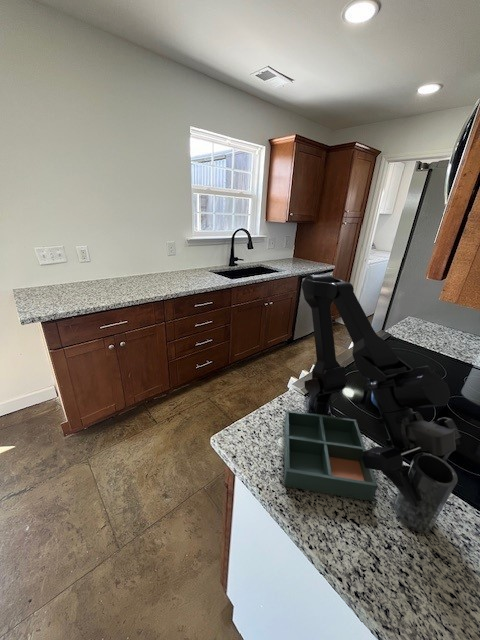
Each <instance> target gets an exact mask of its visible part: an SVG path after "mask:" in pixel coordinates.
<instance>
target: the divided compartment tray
mask: <svg viewBox="0 0 480 640" xmlns="http://www.w3.org/2000/svg"><path fill="white" fill-rule="evenodd" d="M283 433H284V445H283V446H284V448H283V450H284V451H283V458H284V459H283V486H284V487H287V488H294V489H299V490H304V491H305V490H306V491H310V492H311V491H312V492H317V493H323V494H327V495H334V496H340V497H345V498H350V499H357V500H361V501H363V500H364V501H368V502H373V500H374V497H375V495H376V492H377V489H378V483H377V480H376V476H375V473H374V469H369V468H365V466H364V463H363V460H362V454H363V451H366V450H367V449H366V445H365V443H364V440H363V436H362V434H361V431H360V428H359V424H358V421H357V419H353V418H347V417H340V416H332V415H331V416H326V415H318V414H311V413H308V412H302V411H296V410H289V409H288V410H287V409H286V410H285V417H284V432H283Z"/></svg>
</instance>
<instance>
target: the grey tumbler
mask: <svg viewBox="0 0 480 640" xmlns="http://www.w3.org/2000/svg"><path fill="white" fill-rule="evenodd" d="M409 466H410V470H409V473H408V477H409V479H410V482H411V485H412V488H413V491H414V493H415V496H416V500H417V504H418V507H413V506H411V504H410V503H409V502H408V501H407V500H406V498H405V497H404V496H403V495H402V494H401V492H400V491H399V490H398V493H397V495H396V498H395V501H394V504H393V506H394V511H395V514H396V516H397V517H398V519H399V520H400V521H401V523H403V524H404V525H405V526H406V527H407V528H409V529H411V530H412V531H415V532H418V533H422V534H423V533H424V534H425V533H428V532H430V531H431V530H432V528H433V527H434V525H435V524H436V521H437V520H438V518H439V516H440V515H441V513H442V511H443V509H444V507H445V505H446V504H447V502H448V500H449V498H450V496H451V494H452V492H453V490H454V489H455V487H456V485H457V483H458V482H459V480H458V474H457V473H456V471H455V470H454V467H452V466H451V465H450V464H449V463H448V462H447V463H446V462H445V461H444V460H442V459H441V458H439V457H437V456H435V455H432V454H429V453H419V452H417V453H415V455H414V456H413V458H412V460H411V462H410V464H409Z"/></svg>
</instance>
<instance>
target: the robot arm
mask: <svg viewBox="0 0 480 640" xmlns="http://www.w3.org/2000/svg"><path fill="white" fill-rule="evenodd" d="M301 289H302V294H303V298H304V300H305V302H306V304H307V305H308V306H309V307H310V309H311V317H312V327H313V336H314V345H315V347H314V348H315V356H316V361H315V363H314V365H313V368H312V370H311V378H310V379H308V380H305V381H304V382H303V383H304V389H305V390H306V391H307V392H308V394H309V396H306V408H307V413H311V414H318V415H325V416H332V410H331V405H330V404H331V400H332V396H333V394H335V393H340V391H343V390H344V389H345V388H346V385H347V384H346V383H347V382H348V379H347V375H346V372H347V371H346V370H347V369H346V367H345V366H344V365H343V366H341V364H340V363H339V362H338V360H337V356H336V347H335V346H336V344H335V337H334V335H335V334H334V327H333V326H334V325H333V317H332V315H333V314H332V304H334V306H335V308H336V310H337V311H338V314H339V316H340V318H341V321H342V323H343V325H344V326H345V329H346V331H347V333H348V335H349V338H350V339H351V341H352V344H353V345H352V358H353V362H354V364H355V366H356V370H357V371H358V373H359V374H360V375H361V376H362V377H365V378H367V380H366V384H364V387H363V391H364V392H369V391H371V394H372V393H373V395H374V398H375V401H376V403H377V406H378V408H377V409H378V411H379V414H380V417H379V418H377V421H378V424H379V425H384V427H385V430H386V432H387V435H388V438H387V439H385V442H386V445H387V446H388V447H386V446H374V447H372V448H369V449H366V451H363V454H362V460H363V463H364V466H365V468H369V469H372V470H373V471H374V470H375V471H380V472H381V473H382V474H383V475H384V476H385V477H386V478H387V479H388V480H389V481H390V482H391V483H392V484H393V486H395V488H396V489H397V490H398V492H399V491H400V492H401V494H402V495H403V496H404V497H405V498H406V500H407V501H408V502H409V503H410V504H411V506H413V507H418V504H417V500H416V496H415V493H414V491H413V488H412V485H411V482H410V479H409V477H408V473H409V470H410V465H405V464H404V457H407V456H409V455H412V454H416V452H417V453H429V454H432V455H435V456H437V457H439V458H441V459H442V460H444V461H445V462H446V463H448V459H449V457H450V455H451V454H452V453H453V452H455V451H456V450H457V447H456V446H458V445H461V443H462V442H460V438H461V437H462V435H461V434H460V432H459V429H458V427H457V425H456V424H455V423H456V422H454V420H453V418H450V417H446V416H442V417H440V418H438V419H436V420H435V421H426V420H425V419H424V418H423V416H422V414H421V413H420V412H419V411H414V410H413V409H425V408H435V407H444V406H446V405H447V404H448V403H449V402H450V399H451V392H450V388H449V385H448V383H447V382H446V381H445V380H444V379H443V378H442V376H440V375H439V374H437V373H436V372H434V371H432V369H431V368H430V366H429V365H423V366H419V367H415V368H413V367H411V366H410V365H409V364H408V363H406V362H405V361H404V360H403V359H402V358H400V357H398V355H397V354H396V352H395V350H394V349H393V348H392V347H391V345H390V344H389V343H388V341H386V340H385V339H384V338H382V337H381V336H379V335H378V334H377V333H376V330H374V327H373V326H372V324H371V322H370V320H369V318H368V316H367V314H366V313H365V311H364V308H363V307H362V304H361V303H360V301H359V299H358V297H357V296H356V294H355V292H354V291H355V288H354V285H353V283H350V282H349V281H344V280H343V279H340V278H335V277H333V275H332V274H329V273H321V274H308V275H306V276H305V278H304V280H302V282H301ZM389 446H390V447H389Z"/></svg>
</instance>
